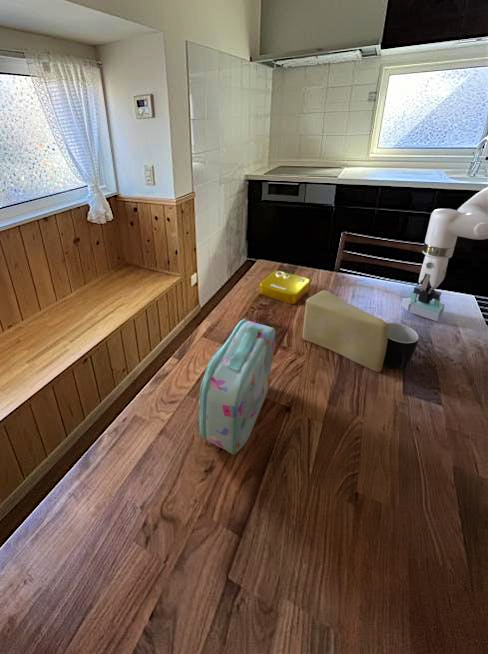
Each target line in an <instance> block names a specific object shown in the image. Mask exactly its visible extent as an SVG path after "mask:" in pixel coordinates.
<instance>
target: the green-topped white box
mask: <svg viewBox="0 0 488 654" xmlns="http://www.w3.org/2000/svg"><path fill="white" fill-rule="evenodd" d="M420 290H421V286H419V285H415V287H414V288H413V291H412V293H411V296H410V297H402V300H401V307H402V308H403V309H404V310H405V311H406V312H409V313H411V314H414V315H417V316H420V317H423V318H425V319H428V320H432V321H435V322H438V321H439V320H440V318H441V317H442V315H444V314H443V313H444V310H445V307H446V305H445V303H441V295H442V292H441V291H437V290H435V289H434V290H435V291H434V290H432V292H431V293H432V296H431V298H432V300H430V303H429V304H426V303H423V302H420V301H418V298H419V297H418V295H419V293H420Z"/></svg>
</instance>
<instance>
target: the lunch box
mask: <svg viewBox="0 0 488 654" xmlns="http://www.w3.org/2000/svg"><path fill="white" fill-rule="evenodd" d="M275 344H276V329H275V328H274V327H271V326H268V325H266V324H261V323H257V322H254V321H252V320H248V319H246V318H243V319H241V320H240V321H239V322H238V323H237V324H236V326H235V327H234V329H233V330H232V332H231V333H230V335H229V337H228V338H227V339H226V341H225V342H224V343H223V345H222V346H221V347H220V348H219V349H218V350H217V351H216V352H215V354H214V355H213V356H212V357H211V359H210V360H209V362H208V364H207V366H206V369H205V372H204V375H203V379H202V381H201V383H200V388H199V416H198V417H199V418H198V430H199V434H200V437H201V438H202V439H203V440H204V441H206V442H209V443H210V444H213V445H214V446H216V447H218V448H221V449H222V450H225V451H226V452H228V453H229V454H231V455H237V454H238V453H239V452H240V451H241V449H242V448H243V447H244V446H245V445H246V444H247V442H248V440H249V438H250V436H251V434H252V431H253V429H254V427H255V424H256V421H257V419H258V416H259V414H260V412H261V409H262V407H263V404H264V402H265V399H266V397H267V394H268V389H269V385H270V382H271V381H270V380H271V373H272V364H273V359H274V351H275Z"/></svg>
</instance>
